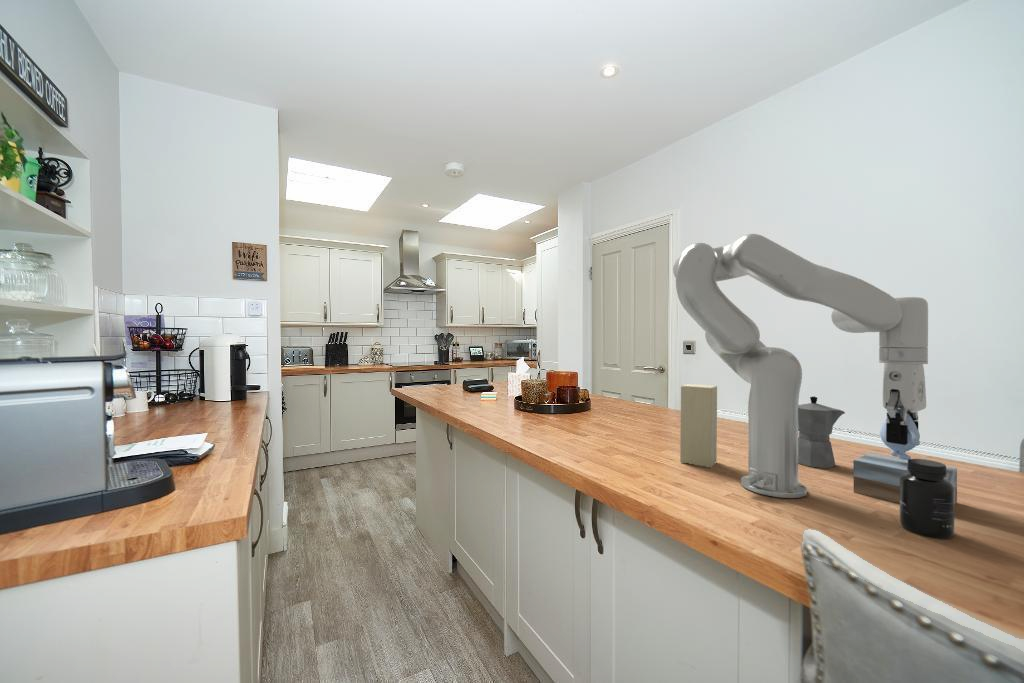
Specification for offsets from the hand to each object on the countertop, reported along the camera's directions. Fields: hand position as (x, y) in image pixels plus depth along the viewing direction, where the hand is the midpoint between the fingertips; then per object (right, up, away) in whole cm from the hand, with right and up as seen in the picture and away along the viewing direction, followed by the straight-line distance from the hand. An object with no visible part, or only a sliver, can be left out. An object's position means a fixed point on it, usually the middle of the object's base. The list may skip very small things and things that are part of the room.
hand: (902, 440), depth 88 cm
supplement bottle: (-10, -12, -15) cm, 22 cm away
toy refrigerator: (-31, -12, +26) cm, 42 cm away
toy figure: (0, -4, +1) cm, 4 cm away
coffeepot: (-2, -12, +25) cm, 28 cm away
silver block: (0, -12, 0) cm, 12 cm away
